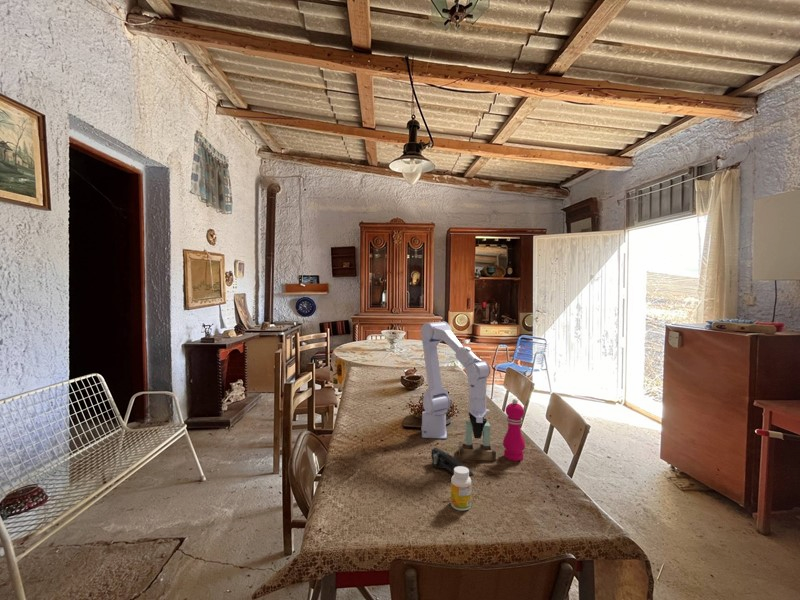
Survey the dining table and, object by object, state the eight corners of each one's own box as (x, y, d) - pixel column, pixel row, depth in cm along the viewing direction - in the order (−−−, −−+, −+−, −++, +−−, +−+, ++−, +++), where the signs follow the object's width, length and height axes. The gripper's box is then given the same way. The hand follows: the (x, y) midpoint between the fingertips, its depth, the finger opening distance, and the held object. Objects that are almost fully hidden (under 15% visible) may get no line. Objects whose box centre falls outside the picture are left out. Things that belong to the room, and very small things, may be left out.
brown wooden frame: (459, 458, 127) (459, 449, 126) (458, 450, 133) (458, 441, 133) (495, 460, 125) (495, 451, 125) (493, 452, 132) (493, 443, 132)
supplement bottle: (448, 499, 103) (449, 465, 102) (468, 499, 103) (468, 464, 103) (453, 511, 97) (453, 475, 97) (473, 510, 98) (474, 474, 97)
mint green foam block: (465, 444, 128) (466, 424, 127) (465, 440, 131) (465, 421, 130) (489, 446, 127) (490, 426, 127) (488, 442, 130) (489, 422, 130)
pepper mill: (524, 453, 131) (526, 397, 130) (524, 463, 124) (526, 403, 123) (503, 450, 133) (504, 395, 132) (502, 459, 126) (503, 401, 125)
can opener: (425, 464, 123) (426, 447, 123) (442, 458, 127) (442, 442, 127) (462, 489, 108) (463, 470, 108) (480, 482, 112) (480, 463, 112)
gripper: (492, 404, 121) (491, 445, 121) (487, 391, 135) (486, 428, 136) (470, 403, 121) (469, 444, 122) (467, 390, 136) (466, 427, 136)
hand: (477, 435), depth 129 cm, fingers closed on mint green foam block, 3 cm apart
